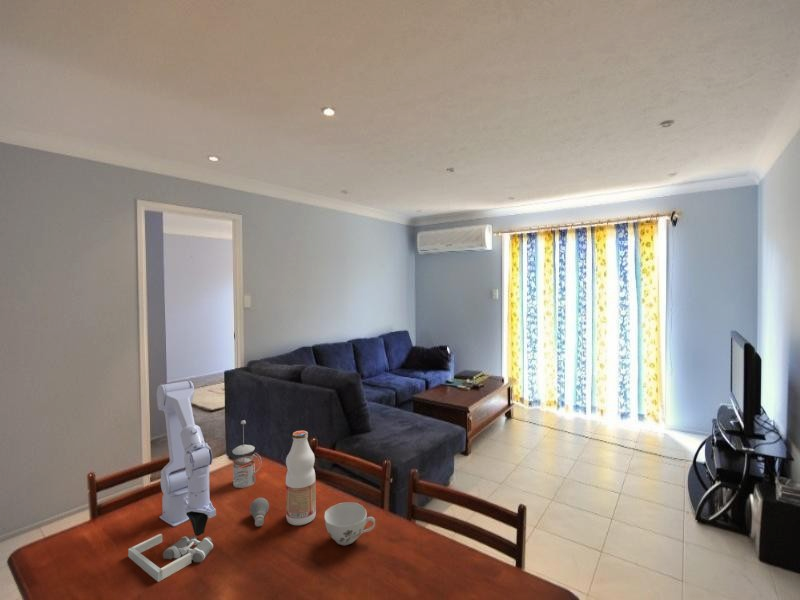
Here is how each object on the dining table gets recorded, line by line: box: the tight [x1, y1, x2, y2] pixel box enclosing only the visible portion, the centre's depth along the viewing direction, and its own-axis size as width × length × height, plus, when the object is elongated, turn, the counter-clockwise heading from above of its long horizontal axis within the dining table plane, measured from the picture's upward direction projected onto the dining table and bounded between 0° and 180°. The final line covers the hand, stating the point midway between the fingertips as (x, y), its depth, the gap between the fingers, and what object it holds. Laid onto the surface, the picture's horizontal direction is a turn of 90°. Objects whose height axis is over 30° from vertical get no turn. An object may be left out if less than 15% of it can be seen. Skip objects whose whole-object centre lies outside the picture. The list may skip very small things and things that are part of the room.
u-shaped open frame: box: [127, 533, 192, 583], centre depth 109 cm, size 17×8×2 cm, turn 56°
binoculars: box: [162, 535, 214, 564], centre depth 112 cm, size 12×8×4 cm, turn 82°
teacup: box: [323, 501, 376, 546], centre depth 117 cm, size 15×12×8 cm
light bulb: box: [249, 497, 270, 528], centre depth 128 cm, size 6×6×10 cm
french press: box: [231, 419, 263, 489], centre depth 152 cm, size 10×12×25 cm
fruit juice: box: [285, 430, 317, 526], centre depth 129 cm, size 9×9×28 cm
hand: (199, 533), depth 118 cm, fingers closed
